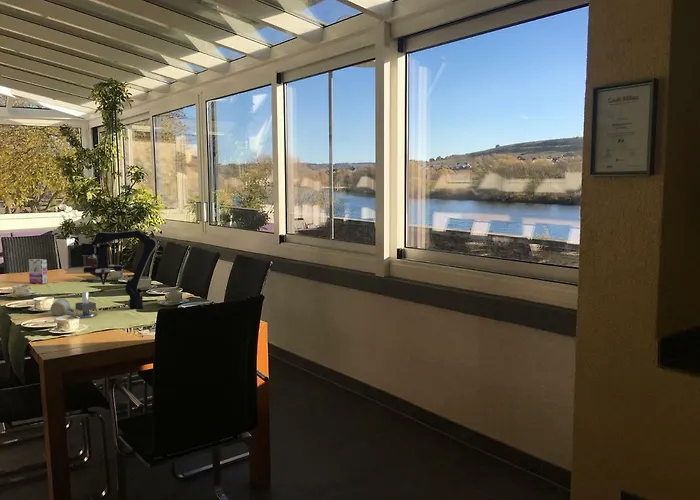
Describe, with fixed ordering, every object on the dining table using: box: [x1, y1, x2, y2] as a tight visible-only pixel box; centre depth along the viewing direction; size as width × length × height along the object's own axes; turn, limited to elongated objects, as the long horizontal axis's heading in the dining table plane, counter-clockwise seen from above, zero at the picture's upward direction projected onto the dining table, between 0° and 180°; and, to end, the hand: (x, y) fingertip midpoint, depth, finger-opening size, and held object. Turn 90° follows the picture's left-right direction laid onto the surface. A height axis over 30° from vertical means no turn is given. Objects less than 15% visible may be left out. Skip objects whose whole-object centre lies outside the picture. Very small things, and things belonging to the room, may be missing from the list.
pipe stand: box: [74, 291, 98, 319], centre depth 301 cm, size 10×10×12 cm
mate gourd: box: [86, 254, 110, 280], centre depth 415 cm, size 16×14×20 cm
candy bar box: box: [28, 258, 49, 285], centre depth 405 cm, size 11×5×16 cm, turn 73°
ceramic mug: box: [50, 298, 76, 317], centre depth 305 cm, size 11×8×8 cm
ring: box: [74, 301, 97, 312], centre depth 301 cm, size 7×7×3 cm
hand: (103, 284), depth 319 cm, fingers closed
